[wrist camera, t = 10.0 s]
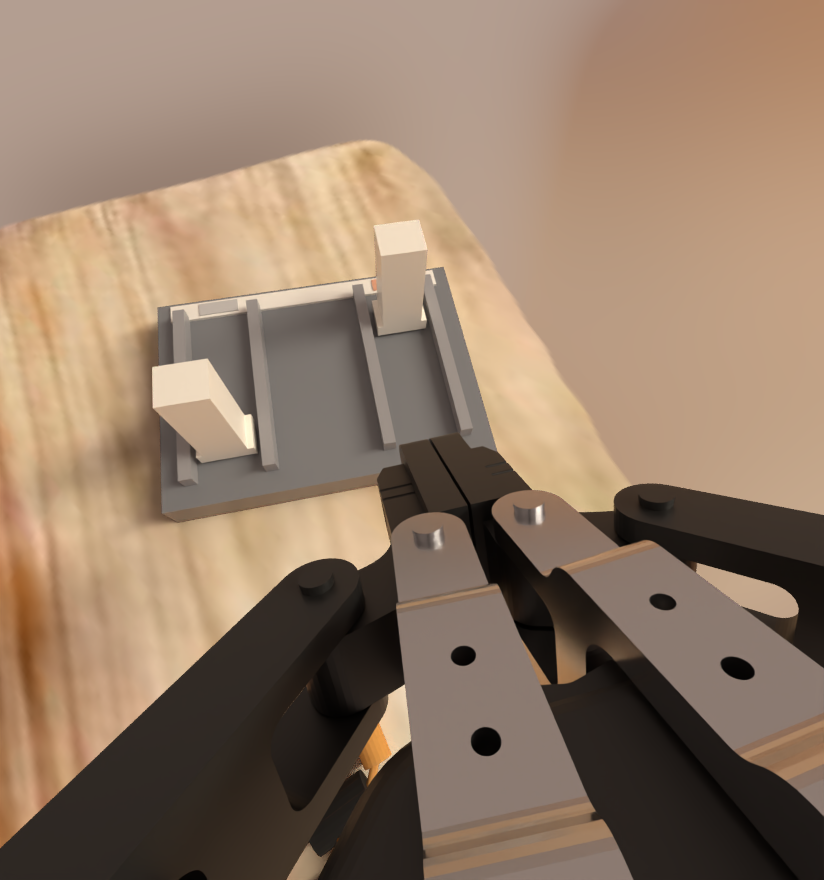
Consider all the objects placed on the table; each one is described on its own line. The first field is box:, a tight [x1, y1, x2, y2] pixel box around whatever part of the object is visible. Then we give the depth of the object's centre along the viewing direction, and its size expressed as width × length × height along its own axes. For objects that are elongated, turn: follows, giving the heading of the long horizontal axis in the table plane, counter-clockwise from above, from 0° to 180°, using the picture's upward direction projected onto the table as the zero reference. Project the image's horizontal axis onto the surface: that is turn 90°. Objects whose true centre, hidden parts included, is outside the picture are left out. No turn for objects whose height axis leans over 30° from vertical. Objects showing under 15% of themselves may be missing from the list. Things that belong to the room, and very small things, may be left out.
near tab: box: [152, 359, 258, 463], centre depth 29 cm, size 4×2×8 cm, turn 102°
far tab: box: [372, 220, 428, 336], centre depth 33 cm, size 4×2×8 cm, turn 102°
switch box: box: [158, 267, 497, 522], centre depth 36 cm, size 22×16×4 cm
